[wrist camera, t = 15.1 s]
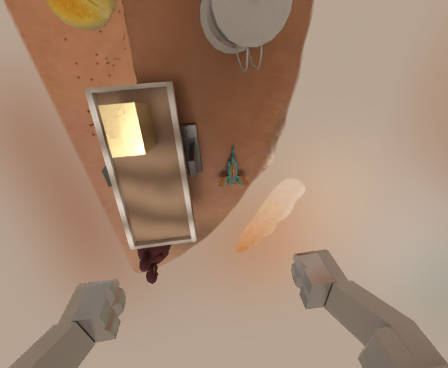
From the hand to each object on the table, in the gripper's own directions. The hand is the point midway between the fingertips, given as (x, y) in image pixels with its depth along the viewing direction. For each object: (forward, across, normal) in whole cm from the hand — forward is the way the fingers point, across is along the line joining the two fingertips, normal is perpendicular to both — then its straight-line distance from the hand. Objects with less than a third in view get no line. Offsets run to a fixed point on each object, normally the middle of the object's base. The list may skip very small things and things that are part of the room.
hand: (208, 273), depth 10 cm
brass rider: (+26, +9, 0) cm, 28 cm away
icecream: (+34, +13, +26) cm, 45 cm away
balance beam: (+26, +9, +8) cm, 29 cm away
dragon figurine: (+34, -6, +8) cm, 36 cm away
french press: (+34, -7, -12) cm, 37 cm away
